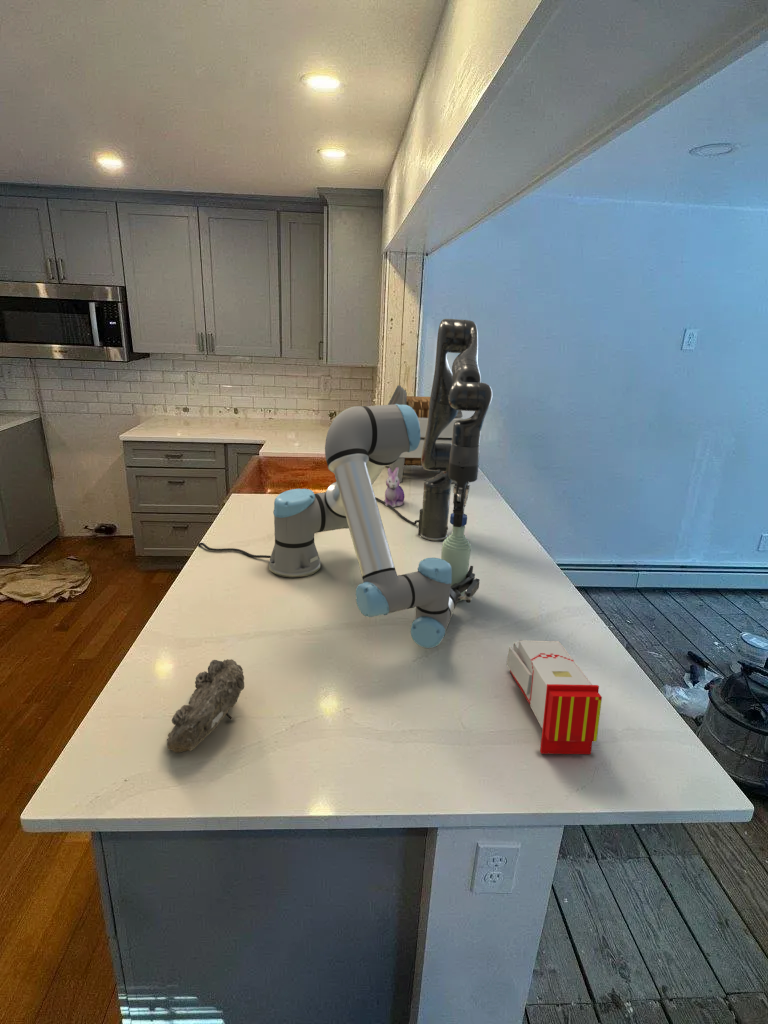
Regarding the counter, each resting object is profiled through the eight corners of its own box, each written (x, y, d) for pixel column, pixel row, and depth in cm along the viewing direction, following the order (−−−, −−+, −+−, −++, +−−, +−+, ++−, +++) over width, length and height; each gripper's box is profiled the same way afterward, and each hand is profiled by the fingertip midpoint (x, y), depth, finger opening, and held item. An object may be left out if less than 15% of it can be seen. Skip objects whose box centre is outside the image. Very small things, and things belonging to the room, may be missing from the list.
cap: (453, 519, 154) (454, 511, 153) (468, 522, 152) (469, 514, 151) (447, 523, 150) (448, 516, 149) (463, 527, 148) (463, 519, 148)
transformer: (382, 463, 289) (386, 382, 275) (445, 464, 293) (451, 384, 279) (390, 482, 257) (394, 392, 243) (460, 483, 261) (468, 394, 247)
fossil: (192, 660, 117) (244, 628, 112) (224, 691, 120) (276, 661, 115) (142, 746, 98) (202, 712, 93) (182, 779, 101) (242, 748, 96)
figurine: (389, 509, 224) (391, 472, 218) (377, 501, 232) (379, 465, 227) (410, 506, 228) (412, 470, 223) (398, 498, 236) (399, 463, 231)
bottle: (456, 587, 163) (464, 518, 156) (470, 599, 157) (478, 529, 149) (432, 590, 160) (439, 521, 153) (445, 603, 154) (453, 531, 147)
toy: (555, 623, 127) (611, 693, 98) (549, 678, 130) (602, 761, 101) (501, 622, 127) (542, 691, 98) (497, 677, 130) (535, 760, 100)
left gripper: (398, 610, 144) (420, 573, 165) (479, 625, 139) (491, 585, 159) (400, 583, 142) (422, 549, 162) (483, 598, 136) (494, 561, 157)
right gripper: (452, 453, 152) (447, 513, 158) (446, 466, 139) (440, 531, 145) (480, 456, 151) (474, 516, 157) (477, 469, 138) (470, 534, 144)
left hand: (456, 567), depth 161 cm, fingers closed on bottle, 8 cm apart
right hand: (458, 523), depth 151 cm, fingers closed on cap, 4 cm apart
